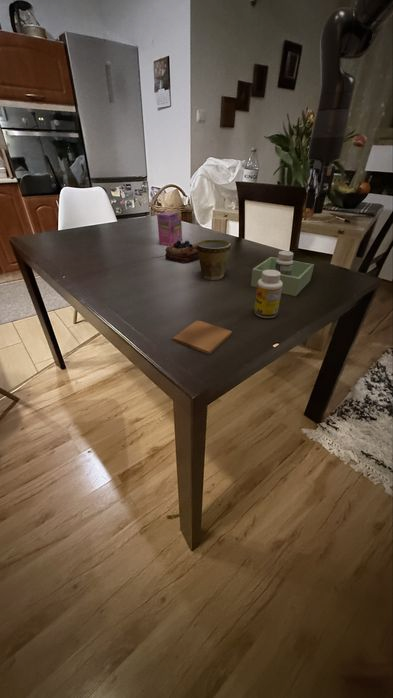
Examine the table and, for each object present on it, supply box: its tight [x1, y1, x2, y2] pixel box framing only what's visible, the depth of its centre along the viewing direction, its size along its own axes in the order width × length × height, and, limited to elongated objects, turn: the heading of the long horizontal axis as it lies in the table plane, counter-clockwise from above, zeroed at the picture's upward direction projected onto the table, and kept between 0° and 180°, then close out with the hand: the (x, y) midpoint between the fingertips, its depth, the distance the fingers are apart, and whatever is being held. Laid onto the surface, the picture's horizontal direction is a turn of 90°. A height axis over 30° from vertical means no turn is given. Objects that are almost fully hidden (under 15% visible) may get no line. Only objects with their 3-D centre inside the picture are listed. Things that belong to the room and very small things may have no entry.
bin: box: [250, 256, 315, 297], centre depth 81 cm, size 13×13×5 cm
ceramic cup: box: [195, 238, 231, 281], centre depth 87 cm, size 13×10×10 cm
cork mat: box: [172, 319, 233, 356], centre depth 59 cm, size 9×9×1 cm
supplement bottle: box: [253, 270, 283, 319], centre depth 65 cm, size 6×6×10 cm
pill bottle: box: [275, 250, 294, 276], centre depth 80 cm, size 5×5×8 cm
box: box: [156, 209, 183, 247], centre depth 118 cm, size 10×6×12 cm, turn 155°
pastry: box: [164, 240, 199, 264], centre depth 102 cm, size 11×12×6 cm
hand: (312, 210), depth 76 cm, fingers open, 8 cm apart
